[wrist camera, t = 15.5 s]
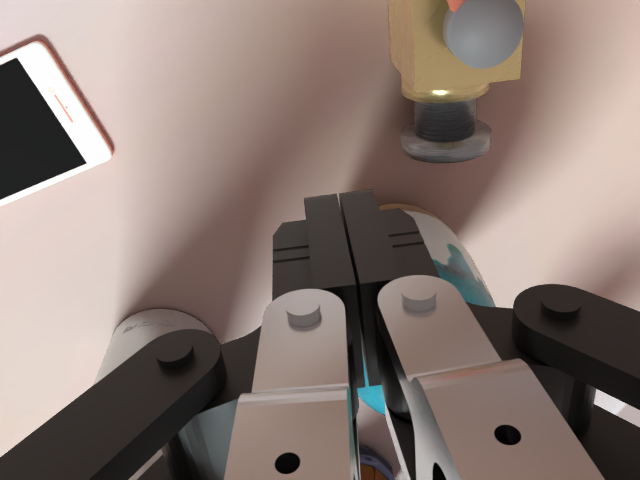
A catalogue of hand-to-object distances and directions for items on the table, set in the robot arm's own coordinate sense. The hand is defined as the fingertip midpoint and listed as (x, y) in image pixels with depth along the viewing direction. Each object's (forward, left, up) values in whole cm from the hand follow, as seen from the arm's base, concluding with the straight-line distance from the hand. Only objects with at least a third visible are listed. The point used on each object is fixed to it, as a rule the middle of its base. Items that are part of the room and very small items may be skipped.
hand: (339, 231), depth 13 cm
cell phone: (-6, +24, -30) cm, 39 cm away
